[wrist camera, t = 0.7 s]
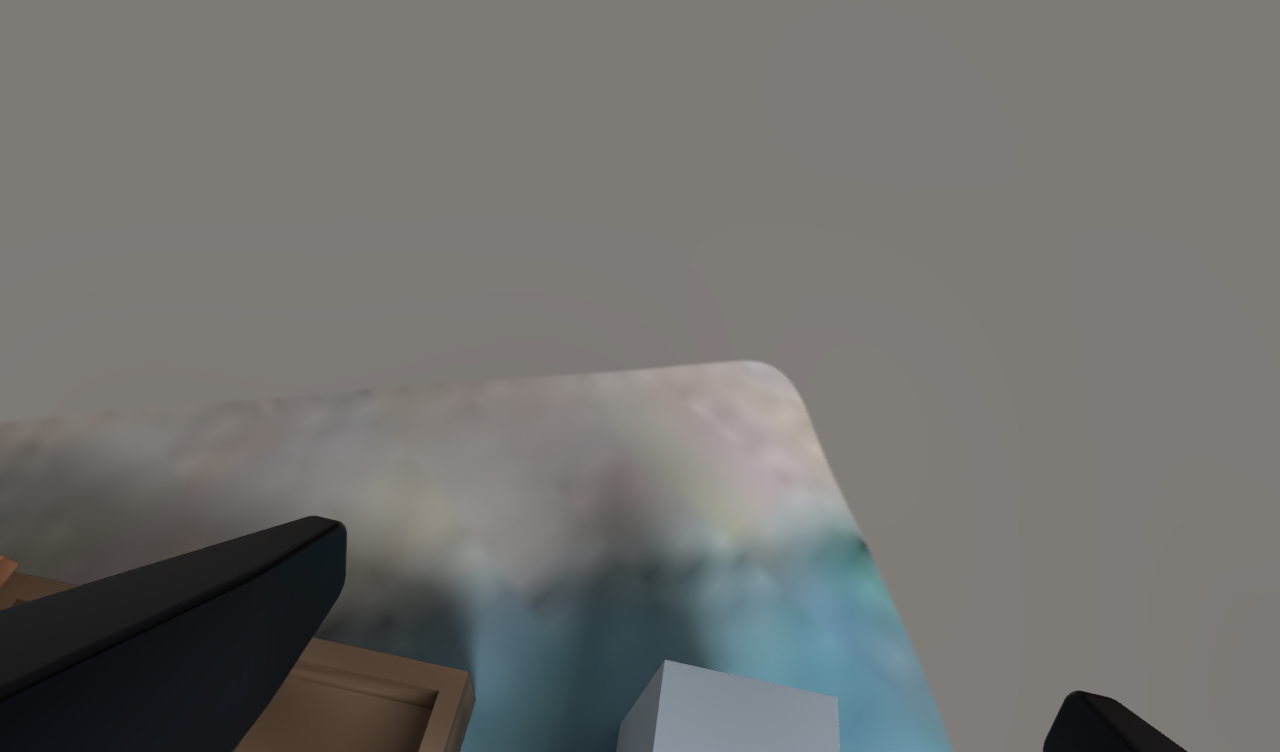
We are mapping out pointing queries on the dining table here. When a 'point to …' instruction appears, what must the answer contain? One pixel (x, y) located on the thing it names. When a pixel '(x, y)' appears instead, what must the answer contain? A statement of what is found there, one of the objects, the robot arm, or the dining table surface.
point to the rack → (335, 694)
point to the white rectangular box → (726, 715)
